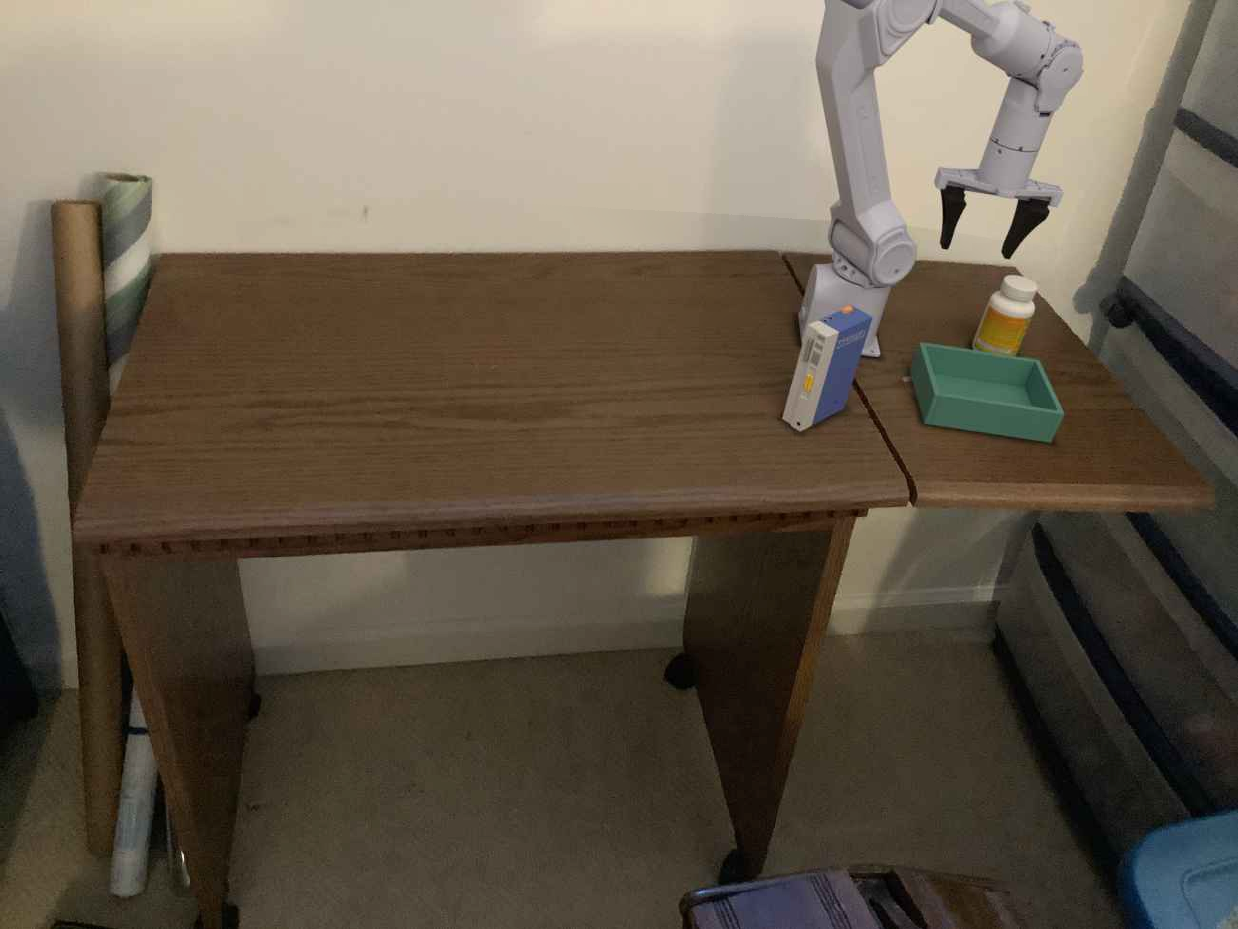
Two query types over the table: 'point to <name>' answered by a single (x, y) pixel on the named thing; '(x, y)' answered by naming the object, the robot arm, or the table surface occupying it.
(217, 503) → the table surface
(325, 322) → the table surface
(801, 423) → the walkman
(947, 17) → the robot arm
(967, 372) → the tray
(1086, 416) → the table surface
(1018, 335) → the supplement bottle
